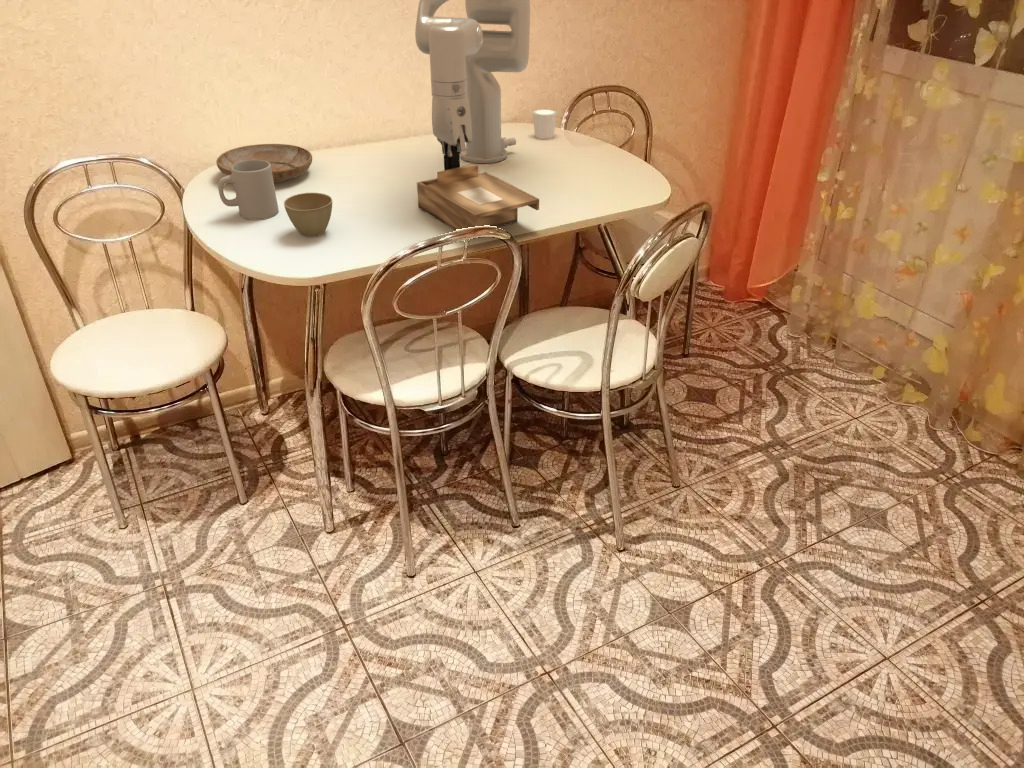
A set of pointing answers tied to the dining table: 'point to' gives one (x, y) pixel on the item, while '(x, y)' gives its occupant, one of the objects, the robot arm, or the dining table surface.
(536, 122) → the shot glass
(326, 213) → the flower pot
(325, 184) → the dining table surface
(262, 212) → the mug
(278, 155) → the shallow wooden bowl
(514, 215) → the wooden box base
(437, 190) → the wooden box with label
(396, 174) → the dining table surface
